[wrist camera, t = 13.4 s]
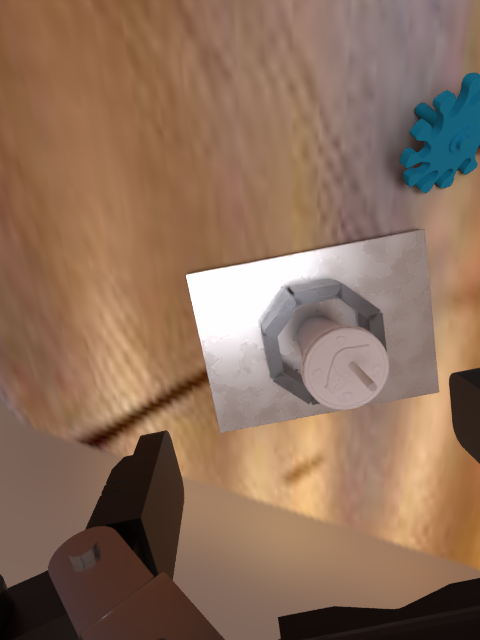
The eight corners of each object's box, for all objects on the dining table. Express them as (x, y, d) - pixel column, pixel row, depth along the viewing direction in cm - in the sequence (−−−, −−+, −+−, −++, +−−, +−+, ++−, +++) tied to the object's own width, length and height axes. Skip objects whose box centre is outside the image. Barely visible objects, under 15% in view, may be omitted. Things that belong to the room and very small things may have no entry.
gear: (400, 213, 37) (423, 107, 29) (364, 176, 40) (375, 71, 32) (507, 166, 38) (559, 49, 30) (464, 133, 41) (500, 19, 33)
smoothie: (364, 329, 40) (438, 385, 26) (320, 380, 41) (369, 459, 27) (313, 288, 39) (363, 323, 25) (269, 341, 40) (294, 402, 26)
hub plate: (187, 273, 40) (181, 279, 35) (417, 229, 39) (444, 229, 34) (220, 425, 43) (219, 451, 38) (431, 386, 43) (458, 407, 38)
